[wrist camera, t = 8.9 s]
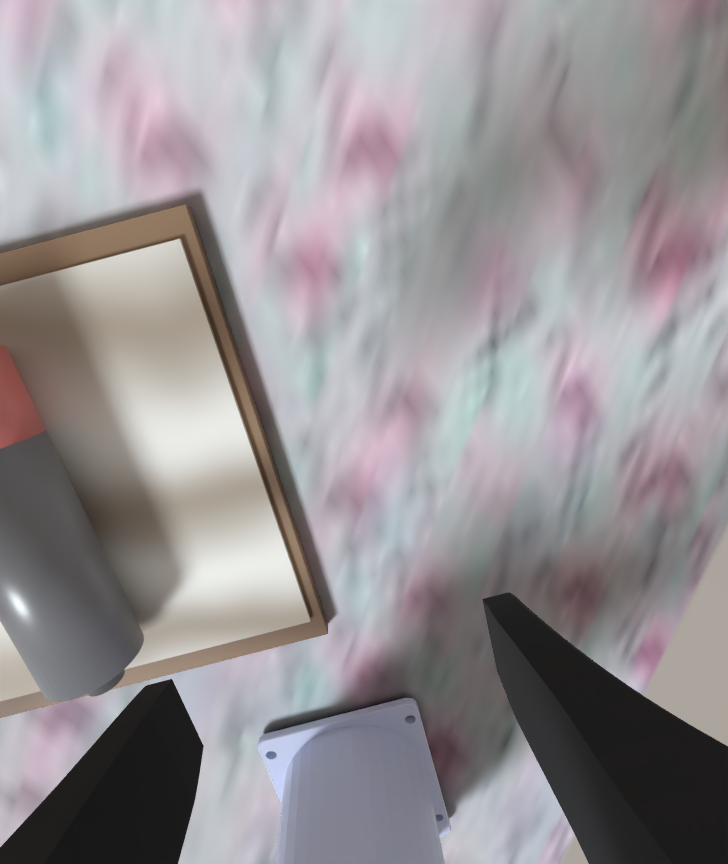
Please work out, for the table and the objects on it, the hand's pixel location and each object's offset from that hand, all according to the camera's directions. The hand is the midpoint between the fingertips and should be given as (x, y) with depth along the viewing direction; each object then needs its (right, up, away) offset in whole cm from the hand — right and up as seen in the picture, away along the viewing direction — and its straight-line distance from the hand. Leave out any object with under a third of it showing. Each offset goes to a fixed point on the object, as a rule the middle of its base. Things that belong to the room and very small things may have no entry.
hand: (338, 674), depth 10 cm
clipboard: (-13, +2, +8) cm, 16 cm away
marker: (-12, +2, +7) cm, 15 cm away
